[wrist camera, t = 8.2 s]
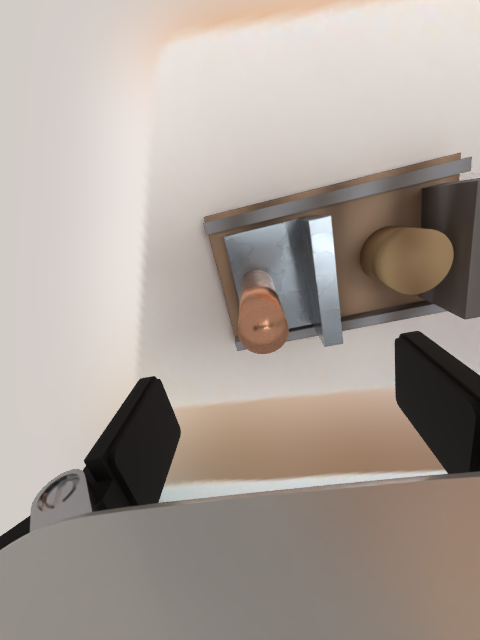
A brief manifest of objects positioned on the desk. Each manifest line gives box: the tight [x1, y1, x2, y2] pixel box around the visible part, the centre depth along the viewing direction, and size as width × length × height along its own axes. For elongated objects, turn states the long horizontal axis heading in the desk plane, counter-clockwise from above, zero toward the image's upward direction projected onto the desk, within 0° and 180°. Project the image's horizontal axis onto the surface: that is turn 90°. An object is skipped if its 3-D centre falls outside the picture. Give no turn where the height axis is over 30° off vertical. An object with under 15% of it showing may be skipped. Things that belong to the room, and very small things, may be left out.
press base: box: [204, 153, 480, 351], centre depth 23 cm, size 22×14×8 cm, turn 103°
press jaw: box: [224, 215, 343, 354], centre depth 21 cm, size 8×10×12 cm
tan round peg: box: [360, 226, 454, 295], centre depth 23 cm, size 5×5×5 cm
